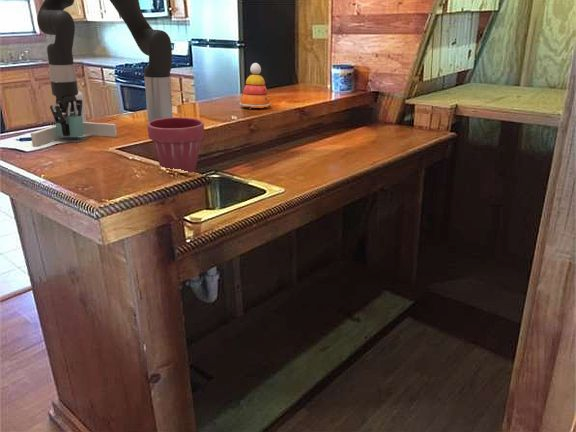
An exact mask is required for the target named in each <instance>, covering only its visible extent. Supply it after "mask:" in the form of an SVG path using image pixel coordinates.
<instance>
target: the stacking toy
mask: <svg viewBox="0 0 576 432" xmlns="http://www.w3.org/2000/svg"><path fill="white" fill-rule="evenodd" d="M249 69H250V73H251V74H250V75H249V76H248V77H247V78H246V80H245V86H244V88H243V90H242V91H243V92H242V93H243V94H242V96H241V98H240V102H239V106H240V105H243V106H251V107H257V106H267V105H270V104H271V105H272V103H271V102H270V98H269V96H268V89H267V87H266V81H265V79H264V77H263V76H262V75H261V74H260V73H262V67H261V65H260V64H259V63H257V62H253V63H252V64H251V65H250V68H249ZM271 105H270V106H271Z"/></svg>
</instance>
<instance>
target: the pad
mask: <svg viewBox="0 0 576 432" xmlns="http://www.w3.org/2000/svg"><path fill="white" fill-rule="evenodd" d="M89 139H90V138H89V137H87V136H86V137H85V136H84V137H83V136H79V137H68V136H64V137H61V138H59V139H56V140H54V141H53V142H63V143H64V142H65V143H76V144H77V143H81V142H84V141H86V140H89Z"/></svg>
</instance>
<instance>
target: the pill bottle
mask: <svg viewBox="0 0 576 432" xmlns="http://www.w3.org/2000/svg"><path fill="white" fill-rule="evenodd" d="M77 87H78V88H79V84H78V83H77ZM75 97H76V99H77V100H82V113H81V116H82V120H83V122H87V116H86V115H87V114H86V109H85V100H84V94H83V92H81V91H80V90H78V94H77V95H75ZM77 107H78V106H77ZM62 114H66V113H62ZM77 114H78V113H77Z"/></svg>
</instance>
